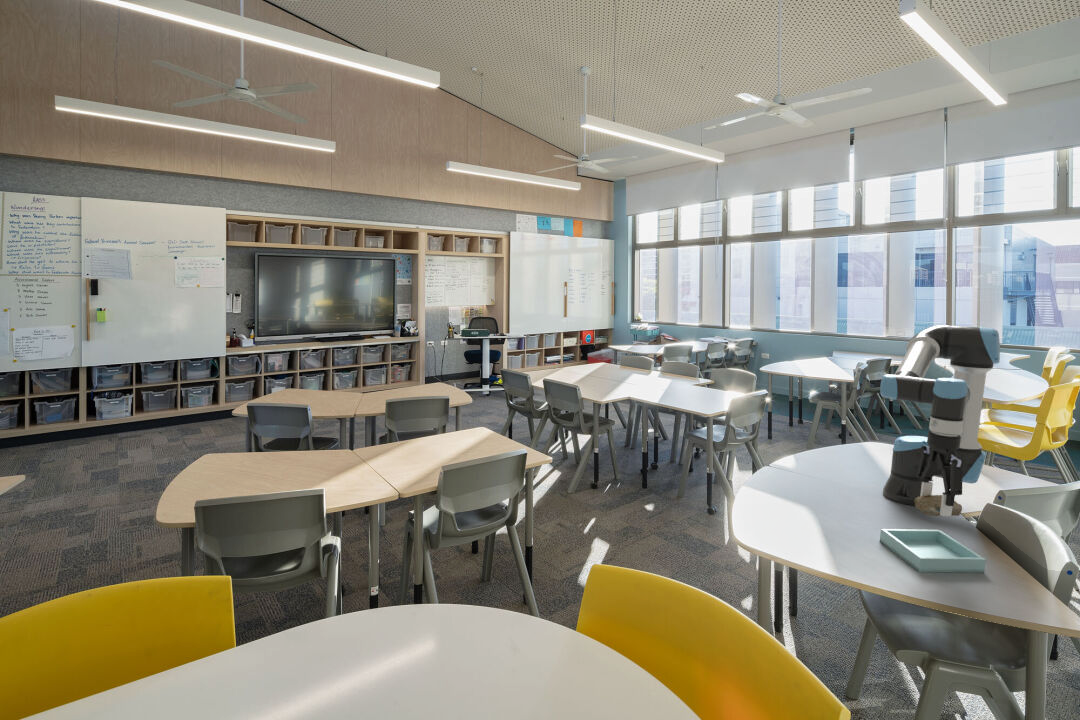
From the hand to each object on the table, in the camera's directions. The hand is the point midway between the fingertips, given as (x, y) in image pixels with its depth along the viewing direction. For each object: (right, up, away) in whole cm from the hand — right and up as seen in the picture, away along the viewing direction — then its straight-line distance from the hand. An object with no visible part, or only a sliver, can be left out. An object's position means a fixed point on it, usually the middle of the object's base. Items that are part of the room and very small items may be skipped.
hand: (934, 509), depth 159 cm
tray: (0, -14, +2) cm, 14 cm away
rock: (0, -1, 0) cm, 1 cm away
